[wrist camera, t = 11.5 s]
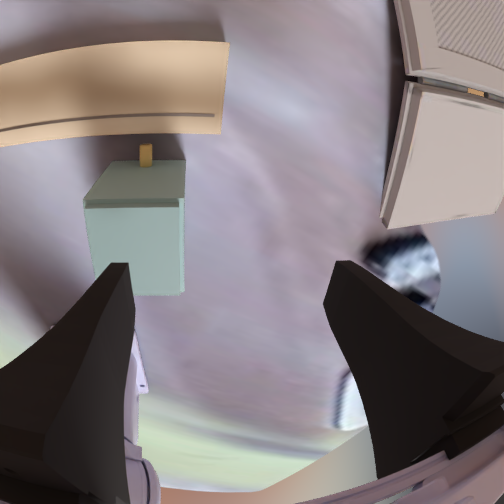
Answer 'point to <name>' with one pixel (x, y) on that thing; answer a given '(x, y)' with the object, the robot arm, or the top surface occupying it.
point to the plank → (114, 91)
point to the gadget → (448, 113)
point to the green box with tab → (140, 222)
